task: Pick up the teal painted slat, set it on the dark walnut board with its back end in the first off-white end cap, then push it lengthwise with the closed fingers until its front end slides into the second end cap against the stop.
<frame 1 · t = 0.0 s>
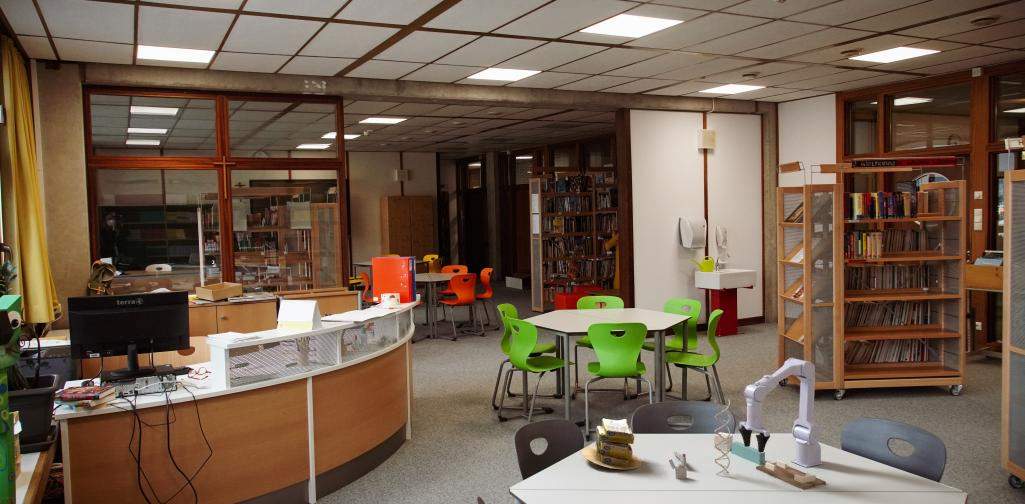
hand: (754, 449, 280), 10 cm above the table, tool pointing down, fingers open, 7 cm apart
end caps: (789, 471, 278), on the walnut board, point 1 cm above the table
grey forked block: (677, 478, 277), on the table
stacked boxes on plate: (611, 462, 296), on the table
walnut board: (790, 476, 278), on the table
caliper: (679, 462, 296), on the table
beige cube: (723, 448, 312), on the table
slat: (747, 458, 299), on the table
dna model: (721, 474, 281), on the table
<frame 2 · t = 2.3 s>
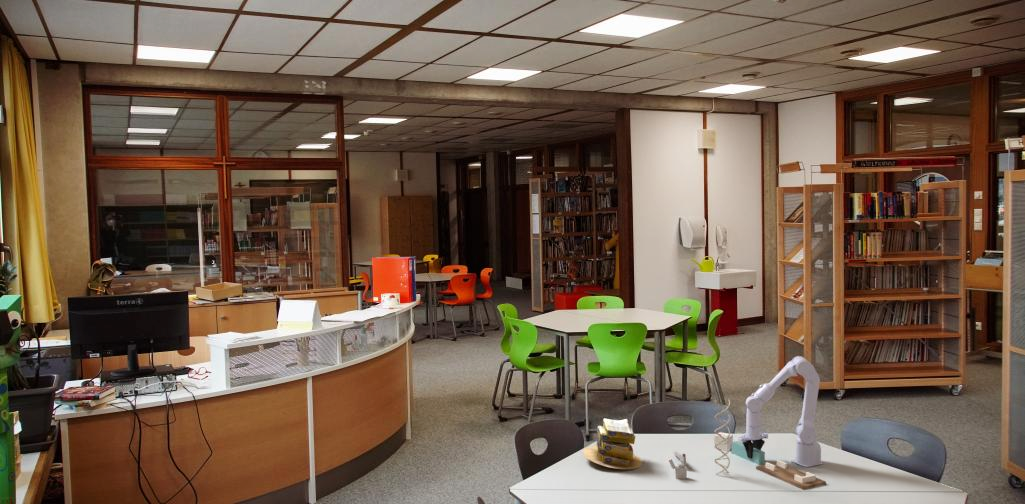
hand: (753, 457, 296), 1 cm above the table, tool pointing down, fingers closed on slat, 3 cm apart
slat: (747, 458, 299), on the table, touching gripper
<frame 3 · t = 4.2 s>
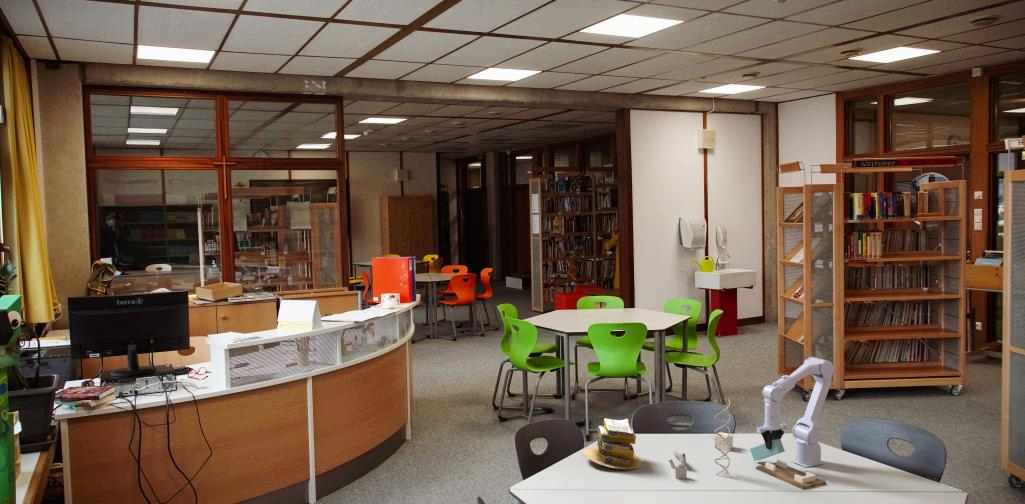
hand: (772, 448, 286), 8 cm above the table, tool pointing down, fingers closed on slat, 3 cm apart
slat: (769, 456, 288), point 5 cm above the table, tilted 29°, touching gripper
when the fingers open (4 cm above the table, at t = 6.0 s): slat stays where it is, resting on walnut board.
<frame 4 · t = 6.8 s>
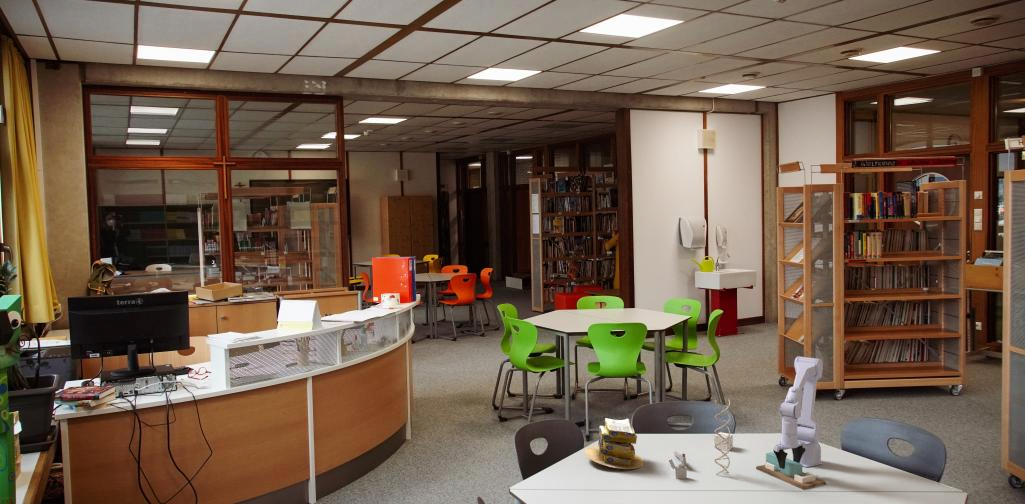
hand: (789, 466, 278), 4 cm above the table, tool pointing down, fingers open, 7 cm apart
slat: (783, 471, 281), point 1 cm above the table, touching walnut board
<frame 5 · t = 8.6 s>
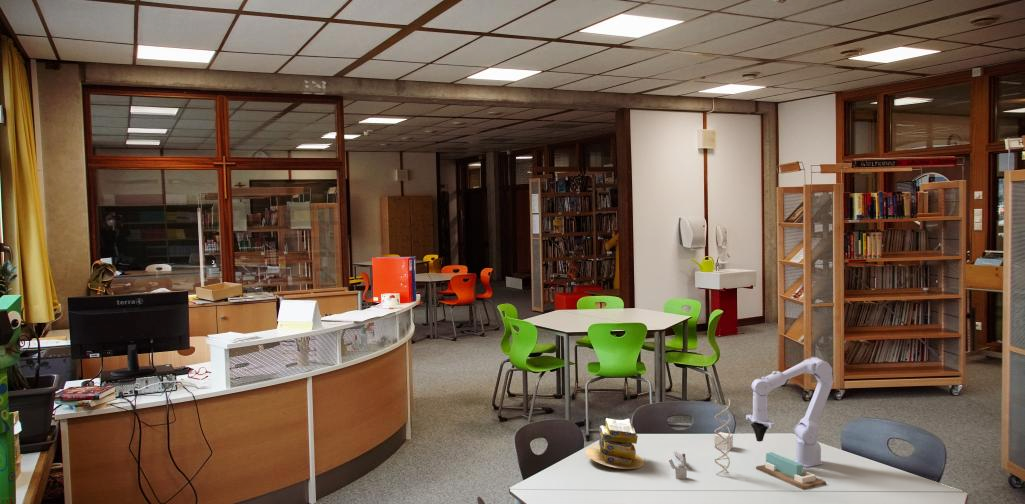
hand: (759, 440, 292), 9 cm above the table, tool pointing down, fingers closed
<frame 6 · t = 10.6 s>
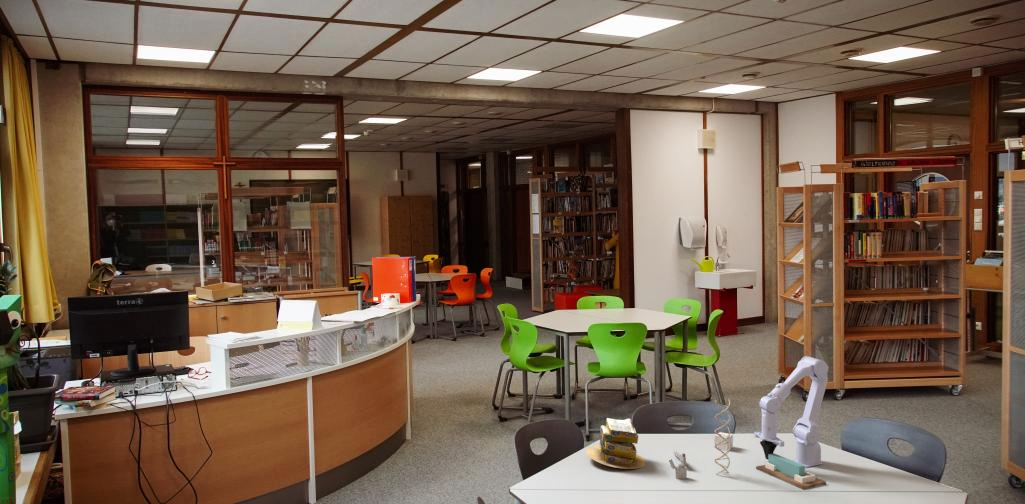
hand: (768, 458, 288), 3 cm above the table, tool pointing down, fingers closed
slat: (786, 472, 279), point 1 cm above the table, touching gripper, walnut board
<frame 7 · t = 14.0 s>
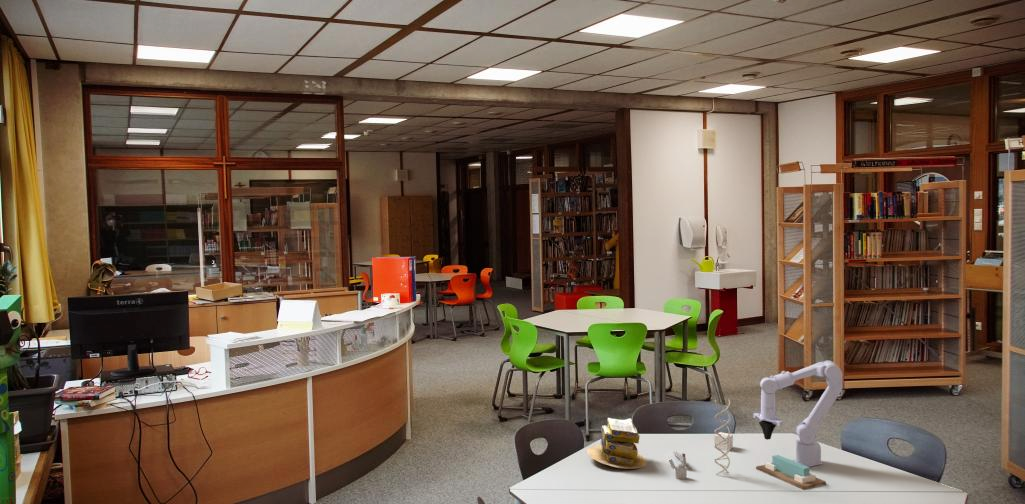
hand: (767, 438, 295), 9 cm above the table, tool pointing down, fingers closed
slat: (790, 474, 277), point 1 cm above the table, touching end caps, walnut board
at the end: slat 0.6 cm off-centre on the walnut board, point 1.0 cm above the walnut board's base; slat tilted 0°; the gripper is holding nothing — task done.
